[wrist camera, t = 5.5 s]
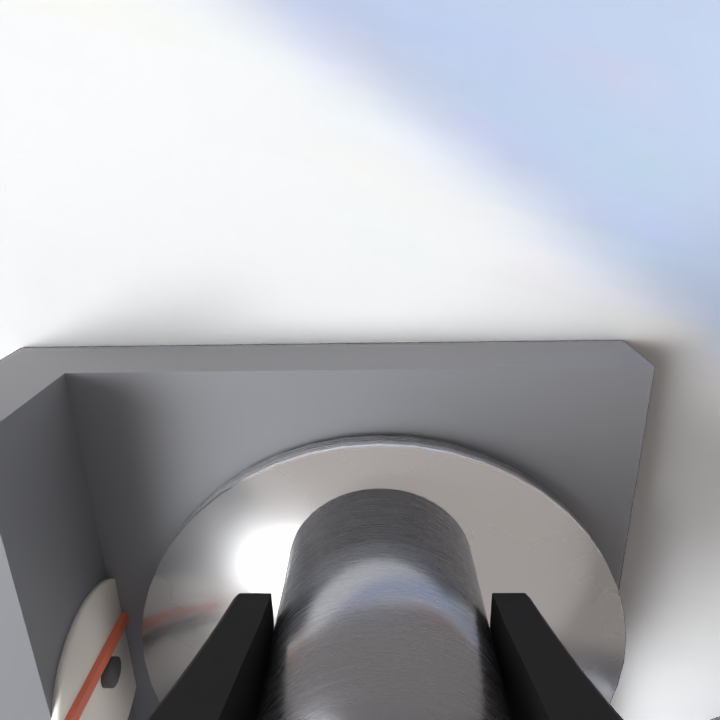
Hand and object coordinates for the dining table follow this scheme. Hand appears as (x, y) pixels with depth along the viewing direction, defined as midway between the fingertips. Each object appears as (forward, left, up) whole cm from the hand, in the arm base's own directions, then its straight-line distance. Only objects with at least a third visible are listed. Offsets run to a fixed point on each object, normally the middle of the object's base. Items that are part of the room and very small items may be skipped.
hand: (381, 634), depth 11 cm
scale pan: (-3, 0, -3) cm, 5 cm away
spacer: (0, 0, -2) cm, 2 cm away
